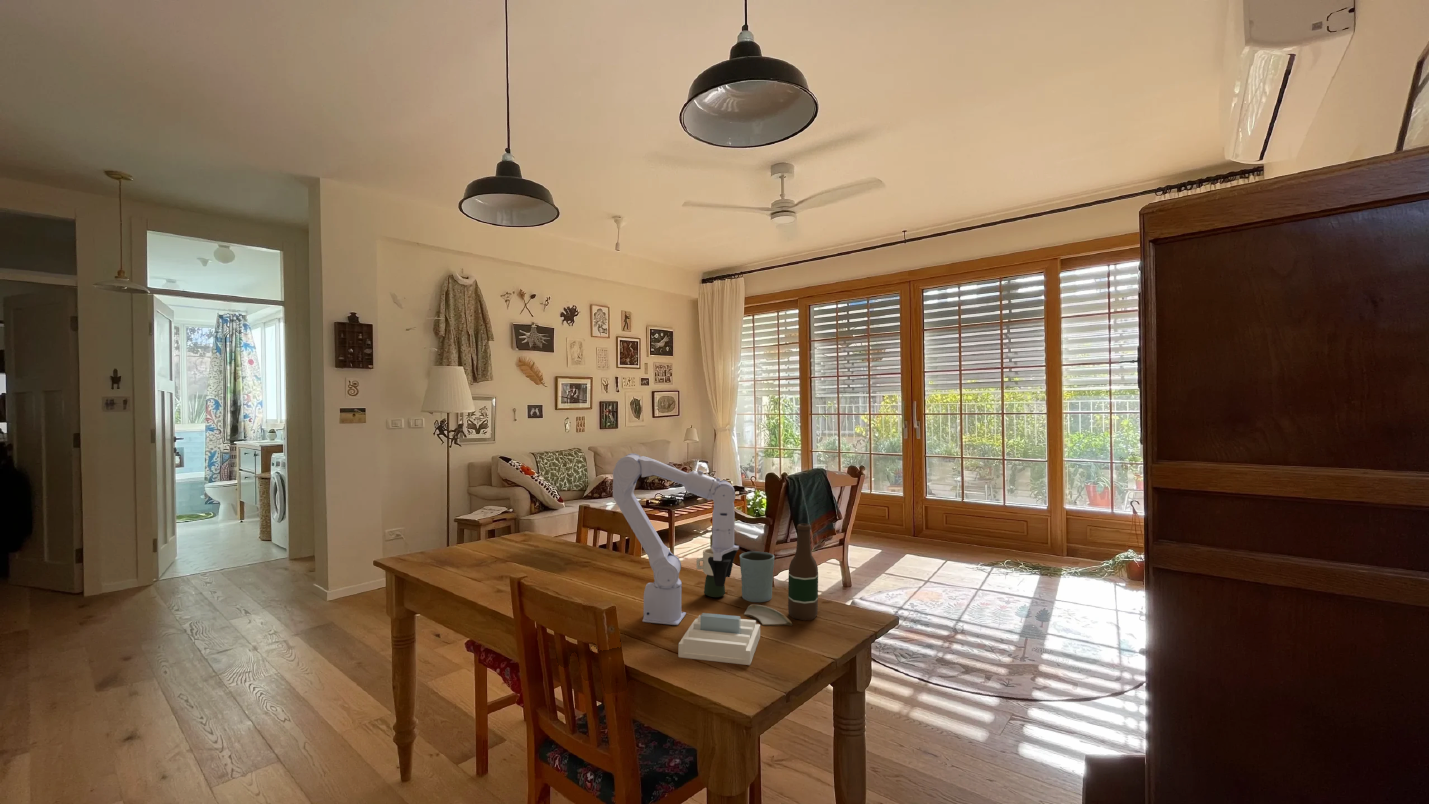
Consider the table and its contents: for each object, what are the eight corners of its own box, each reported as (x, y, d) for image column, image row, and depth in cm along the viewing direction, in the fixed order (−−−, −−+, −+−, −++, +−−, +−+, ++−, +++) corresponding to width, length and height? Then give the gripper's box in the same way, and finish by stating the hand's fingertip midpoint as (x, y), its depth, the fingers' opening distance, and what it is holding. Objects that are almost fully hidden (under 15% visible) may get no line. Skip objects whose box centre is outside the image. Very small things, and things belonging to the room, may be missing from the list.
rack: (678, 657, 126) (678, 639, 126) (695, 630, 140) (695, 614, 140) (750, 665, 122) (750, 646, 122) (760, 636, 137) (760, 620, 137)
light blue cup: (748, 605, 158) (749, 561, 158) (733, 593, 167) (733, 552, 167) (780, 600, 162) (781, 558, 162) (763, 589, 172) (764, 549, 171)
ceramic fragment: (793, 626, 144) (792, 611, 144) (782, 632, 140) (782, 617, 140) (748, 614, 153) (747, 600, 153) (736, 620, 149) (736, 605, 149)
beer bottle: (804, 623, 146) (805, 529, 145) (781, 614, 151) (783, 524, 151) (823, 615, 151) (824, 525, 151) (801, 607, 157) (802, 520, 156)
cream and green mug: (729, 590, 170) (729, 546, 170) (736, 598, 163) (736, 553, 163) (693, 593, 168) (693, 548, 168) (698, 601, 161) (699, 555, 161)
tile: (700, 641, 131) (700, 615, 131) (702, 638, 133) (702, 612, 133) (738, 646, 129) (739, 619, 129) (740, 642, 131) (740, 616, 131)
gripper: (733, 536, 140) (732, 591, 140) (743, 523, 154) (743, 574, 154) (705, 534, 141) (704, 589, 141) (717, 522, 155) (717, 572, 155)
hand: (723, 581), depth 148 cm, fingers open, 7 cm apart
